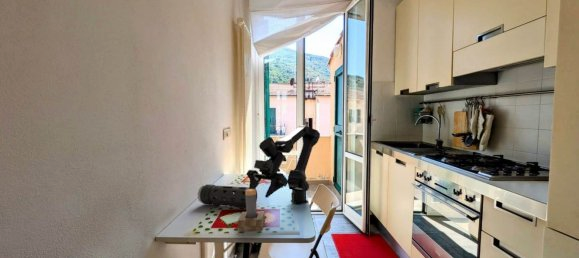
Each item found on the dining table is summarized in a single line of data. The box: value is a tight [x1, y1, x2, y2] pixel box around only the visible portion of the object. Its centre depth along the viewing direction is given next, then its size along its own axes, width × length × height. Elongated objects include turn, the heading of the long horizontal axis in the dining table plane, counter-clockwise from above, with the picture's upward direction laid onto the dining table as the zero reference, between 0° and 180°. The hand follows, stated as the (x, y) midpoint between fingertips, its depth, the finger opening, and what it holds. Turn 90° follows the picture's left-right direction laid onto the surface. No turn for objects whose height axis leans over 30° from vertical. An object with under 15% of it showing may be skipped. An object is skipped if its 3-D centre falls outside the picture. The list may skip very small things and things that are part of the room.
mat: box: [219, 212, 242, 226], centre depth 110 cm, size 9×9×1 cm
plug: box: [245, 188, 257, 218], centre depth 102 cm, size 4×4×14 cm
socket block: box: [237, 210, 266, 232], centre depth 102 cm, size 9×9×4 cm
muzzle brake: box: [197, 184, 258, 209], centre depth 126 cm, size 10×28×10 cm, turn 71°
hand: (257, 195), depth 105 cm, fingers open, 9 cm apart
